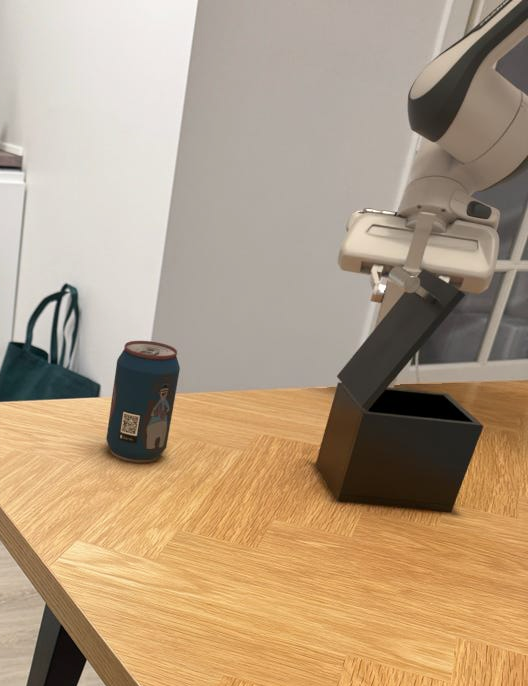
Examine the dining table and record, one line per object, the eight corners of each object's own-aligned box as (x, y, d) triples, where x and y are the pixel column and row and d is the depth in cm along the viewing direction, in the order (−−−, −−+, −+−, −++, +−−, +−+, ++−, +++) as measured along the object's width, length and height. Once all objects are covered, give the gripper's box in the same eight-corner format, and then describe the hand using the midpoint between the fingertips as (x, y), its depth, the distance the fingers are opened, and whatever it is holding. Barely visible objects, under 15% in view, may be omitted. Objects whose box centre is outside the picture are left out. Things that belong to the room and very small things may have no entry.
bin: (419, 474, 106) (447, 393, 100) (451, 512, 97) (484, 425, 91) (315, 464, 105) (337, 382, 100) (337, 501, 96) (363, 413, 91)
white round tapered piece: (369, 410, 125) (427, 216, 111) (345, 398, 129) (398, 209, 115) (397, 408, 127) (457, 217, 113) (372, 396, 131) (428, 210, 117)
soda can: (118, 437, 106) (132, 335, 100) (172, 451, 104) (191, 347, 98) (95, 454, 101) (109, 347, 94) (152, 469, 99) (170, 361, 92)
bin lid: (429, 272, 93) (396, 247, 92) (466, 294, 84) (430, 267, 83) (341, 380, 100) (310, 357, 98) (367, 411, 91) (333, 387, 90)
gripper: (355, 190, 122) (325, 275, 120) (513, 212, 116) (485, 303, 114) (350, 222, 128) (322, 304, 126) (501, 245, 122) (473, 332, 120)
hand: (400, 304), depth 120 cm, fingers closed on white round tapered piece, 5 cm apart
